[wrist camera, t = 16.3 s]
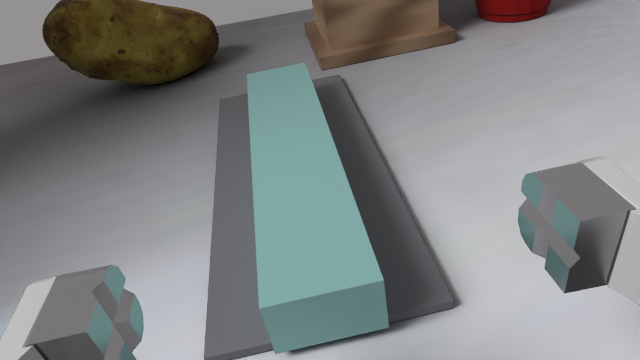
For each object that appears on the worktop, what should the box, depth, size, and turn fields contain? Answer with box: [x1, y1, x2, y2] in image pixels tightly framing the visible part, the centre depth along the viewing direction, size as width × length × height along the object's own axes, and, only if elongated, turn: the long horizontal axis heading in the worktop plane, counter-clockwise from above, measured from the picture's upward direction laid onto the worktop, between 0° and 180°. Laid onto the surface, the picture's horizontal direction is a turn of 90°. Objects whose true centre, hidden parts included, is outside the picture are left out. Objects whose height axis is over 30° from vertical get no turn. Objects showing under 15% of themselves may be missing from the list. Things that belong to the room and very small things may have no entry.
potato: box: [43, 0, 219, 85], centre depth 39 cm, size 8×13×8 cm, turn 94°
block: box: [247, 62, 389, 354], centre depth 23 cm, size 4×20×2 cm, turn 9°
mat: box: [204, 75, 454, 360], centre depth 25 cm, size 9×22×1 cm, turn 9°
